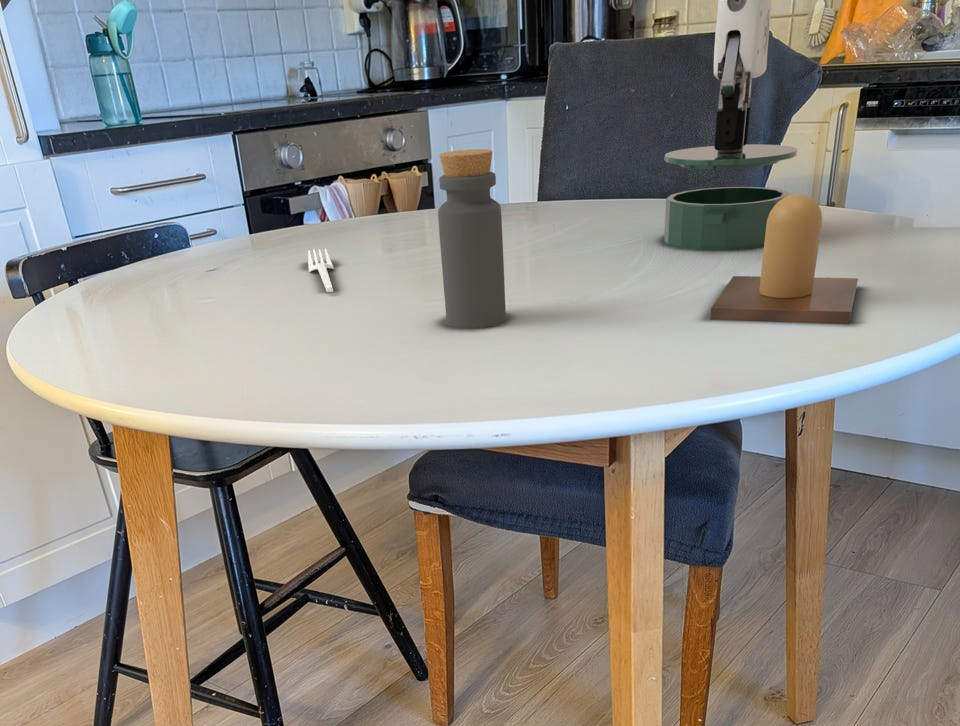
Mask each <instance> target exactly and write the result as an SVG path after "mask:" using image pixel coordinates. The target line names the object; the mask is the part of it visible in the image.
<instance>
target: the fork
mask: <svg viewBox="0 0 960 726" xmlns="http://www.w3.org/2000/svg"><path fill="white" fill-rule="evenodd" d="M323 251H324V255H325V260H326V262H325V261H324V258H323V254H322V251H321V248H318V255H319V260H318V256H317V253H316V250H315V249H313V250H312V252H313V258H314V262H313V258H312V254H311V250H310V249H308V250H307V257H308V258H307V263H308V264H307V265H308V272H309V273H311V272H312V271H316V270H317V272H318V273H319V276H320V278H321V280H322V281H321V282H322V283H323V286H324V288H325V291H326V293H333V292H334V288H333V286H332V282H331V279H330V275H329V272H328V269H332V270H335V267H334V265H333V263H332V260H331V258H330V255H329V253H328V250H327V248H324V250H323ZM319 261H320V262H319ZM314 263H315V264H314Z"/></svg>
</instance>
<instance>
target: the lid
mask: <svg viewBox="0 0 960 726" xmlns="http://www.w3.org/2000/svg"><path fill="white" fill-rule="evenodd" d="M747 108H748V107H747V103H744V107H743V110H746V112H747ZM745 123H746V113H745ZM744 133H745V124H744ZM743 144H744V134H743ZM797 155H798V148H797V147H795V146H791V145H784V144H783V145H781V144H759V143H758V144H757V143H755V144H753V143H752V144H748V143H747V144H746V145H745V146H743V145H742V148H741V149H739V150H715V148H714V145H711V146H710V145H709V146H708V145H707V146H697V147H691V148H689V147H688V148H682V149H676V150H673V151H670V152H667V153H665V154H664V162H665V163H668V164H671V165H677V166H678V165H679V166H680V167H681V168H684V169H685V168H686V169H693V170H738V169H739V170H740V169H751V168H760V167H766V166H771V165H772V166H773V165H775V164H778V163H780V161H785V160H790V159H792V158H795V157H797Z"/></svg>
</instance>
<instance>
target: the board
mask: <svg viewBox="0 0 960 726" xmlns="http://www.w3.org/2000/svg"><path fill="white" fill-rule="evenodd" d="M760 279H761V276H756V275H755V276H748V275H747V276H746V275H733V276H732V278H731V279H730V280H729V282H728V283H727V284H726V285H725V287H724V289H722V291H721V293H720V295H719V296H718V297H717V299H716V300H715V302H714V303H713V304H712V306H711V307H710V318H709V319H710V320H713V321H715V320H716V321H717V320H718V321H740V322H741V321H745V322H746V321H747V322H772V323H773V322H774V323H777V322H778V323H804V324H829V325H833V324H834V325H850V322H851V317H852V312H853V306H854V302H855V298H856V293H857V288H858V283H859V282H858V281H859V278H857V277H852V278H851V277H814V282H813V289H812V293H811V294H810V295H807V296H804V297H798V298H773V297H767V296H764V295H761V294H760V293H759V288H760Z"/></svg>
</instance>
